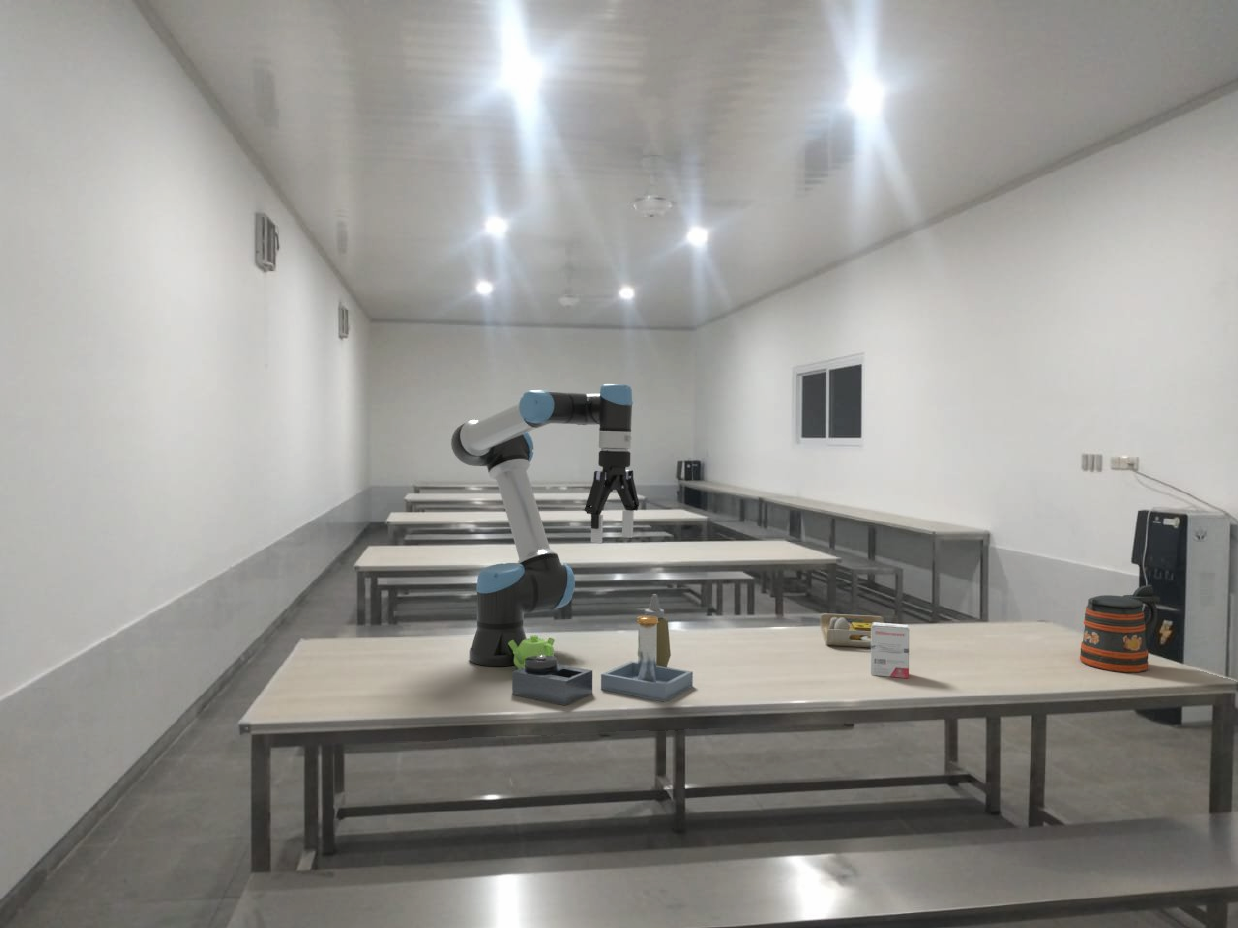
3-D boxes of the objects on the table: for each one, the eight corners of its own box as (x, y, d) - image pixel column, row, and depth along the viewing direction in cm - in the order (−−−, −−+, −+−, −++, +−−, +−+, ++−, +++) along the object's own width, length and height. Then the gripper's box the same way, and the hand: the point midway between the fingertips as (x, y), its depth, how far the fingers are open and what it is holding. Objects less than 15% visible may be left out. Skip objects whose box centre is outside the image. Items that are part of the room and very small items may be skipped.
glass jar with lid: (632, 685, 176) (633, 618, 176) (643, 680, 180) (643, 614, 180) (651, 689, 173) (651, 620, 173) (661, 683, 177) (661, 617, 177)
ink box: (908, 673, 190) (909, 623, 190) (909, 678, 185) (909, 627, 185) (870, 669, 193) (871, 620, 193) (870, 675, 188) (870, 624, 188)
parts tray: (600, 689, 175) (601, 674, 175) (631, 675, 186) (631, 661, 186) (665, 701, 167) (665, 685, 167) (692, 686, 178) (692, 671, 178)
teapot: (560, 676, 185) (561, 640, 185) (511, 679, 182) (511, 642, 182) (554, 663, 196) (554, 629, 196) (507, 666, 193) (507, 631, 193)
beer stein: (1125, 655, 209) (1127, 579, 209) (1177, 670, 195) (1179, 588, 194) (1066, 659, 204) (1067, 581, 204) (1115, 674, 190) (1116, 591, 190)
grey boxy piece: (512, 694, 171) (512, 658, 171) (540, 682, 180) (540, 648, 179) (565, 705, 164) (565, 667, 164) (592, 693, 172) (592, 657, 172)
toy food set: (896, 653, 211) (897, 624, 211) (826, 649, 214) (826, 620, 214) (883, 631, 236) (884, 606, 235) (820, 628, 239) (820, 603, 239)
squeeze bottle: (668, 674, 187) (669, 598, 187) (634, 672, 189) (635, 596, 188) (673, 665, 195) (673, 592, 194) (640, 663, 196) (641, 591, 196)
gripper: (598, 450, 175) (596, 546, 176) (654, 450, 196) (652, 536, 197) (570, 449, 179) (568, 543, 179) (628, 449, 200) (626, 533, 201)
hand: (612, 540), depth 188 cm, fingers open, 13 cm apart
